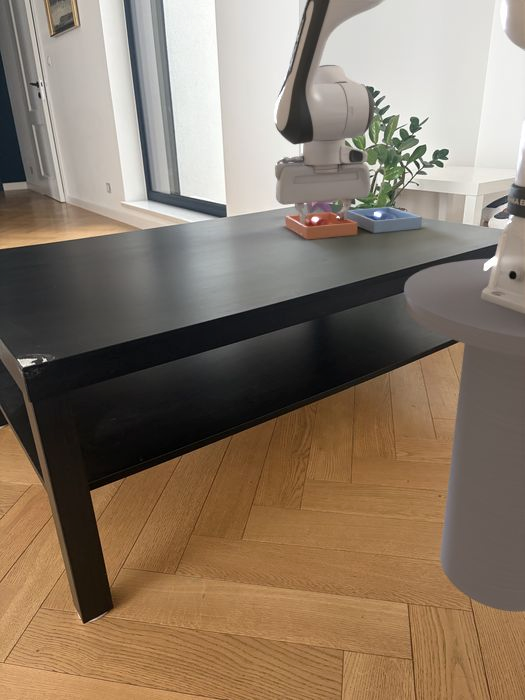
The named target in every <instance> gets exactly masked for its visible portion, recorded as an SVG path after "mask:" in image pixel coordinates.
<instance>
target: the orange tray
mask: <svg viewBox="0 0 525 700" xmlns="http://www.w3.org/2000/svg"><path fill="white" fill-rule="evenodd" d="M304 214H305V215H307V216H309V219H312V218H313V217H315V216H319V217H321V218H323V219H325V220H328V221H330V222H331V224H332V225H322V226H312V227H308V226H306V225H304V224H302V223H300V215H299V214H291V215H284V218H285V219H284V221H285V224H284V225H285V228H287V229H289V230H290V231H292V232H294V233H295V234H297V235H299V236H300V237H302V238H304V239H305V240H308V241H309V240H316V239H317V240H318V239H326V238H336V237H346V236H357V235H358V226H357V222H354V221H352V220H349V219H347V218H346V221H337V213H335V212H333V211H332V212H325V211H323V212H313V213H311V214H309V213H304Z"/></svg>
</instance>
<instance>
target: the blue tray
mask: <svg viewBox="0 0 525 700" xmlns="http://www.w3.org/2000/svg"><path fill="white" fill-rule="evenodd" d="M376 211H382V212H385V213H388V214H392V215H394V216H395V217H396V219H388V220H377V221H375V220H373V219H370V218H367V217H366V214H370V213H375V212H376ZM346 218H347V219H349V220H352V221H354V222H357V227H359V228H361V229H364V230H366V231H367V232H371V233H373V234H378V233H388V232H397V231H399V232H400V231H408V230H409V231H410V230H419V229H422V225H423V217H422V216H421V215H418V214H414V213H411V212H408V211H405V210H402V209H397V208H395V207H392V206H383V207H382V206H381V207H371V208H361V209H349V210H348V211H347V213H346Z"/></svg>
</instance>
